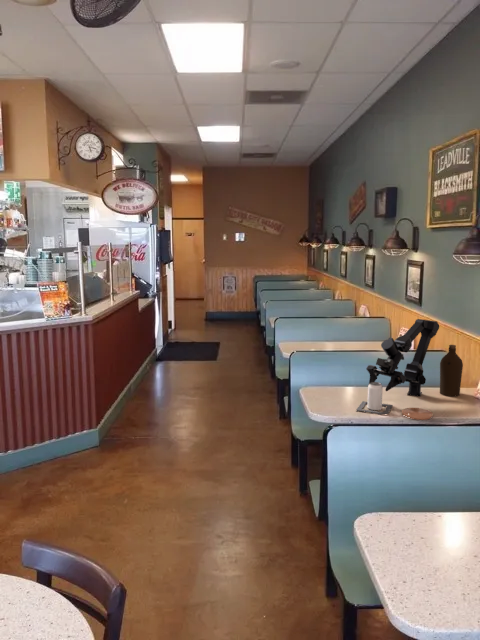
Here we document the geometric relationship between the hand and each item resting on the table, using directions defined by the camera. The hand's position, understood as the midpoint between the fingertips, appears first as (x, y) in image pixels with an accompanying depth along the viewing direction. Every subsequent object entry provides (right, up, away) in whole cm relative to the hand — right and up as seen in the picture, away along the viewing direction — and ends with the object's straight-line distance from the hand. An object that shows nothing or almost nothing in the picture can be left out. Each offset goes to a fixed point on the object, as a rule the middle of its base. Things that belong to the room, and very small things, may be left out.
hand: (377, 388), depth 250 cm
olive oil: (+42, -6, +22) cm, 48 cm away
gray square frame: (-1, -9, 0) cm, 9 cm away
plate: (+15, -11, -8) cm, 21 cm away
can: (-1, -10, 0) cm, 10 cm away
